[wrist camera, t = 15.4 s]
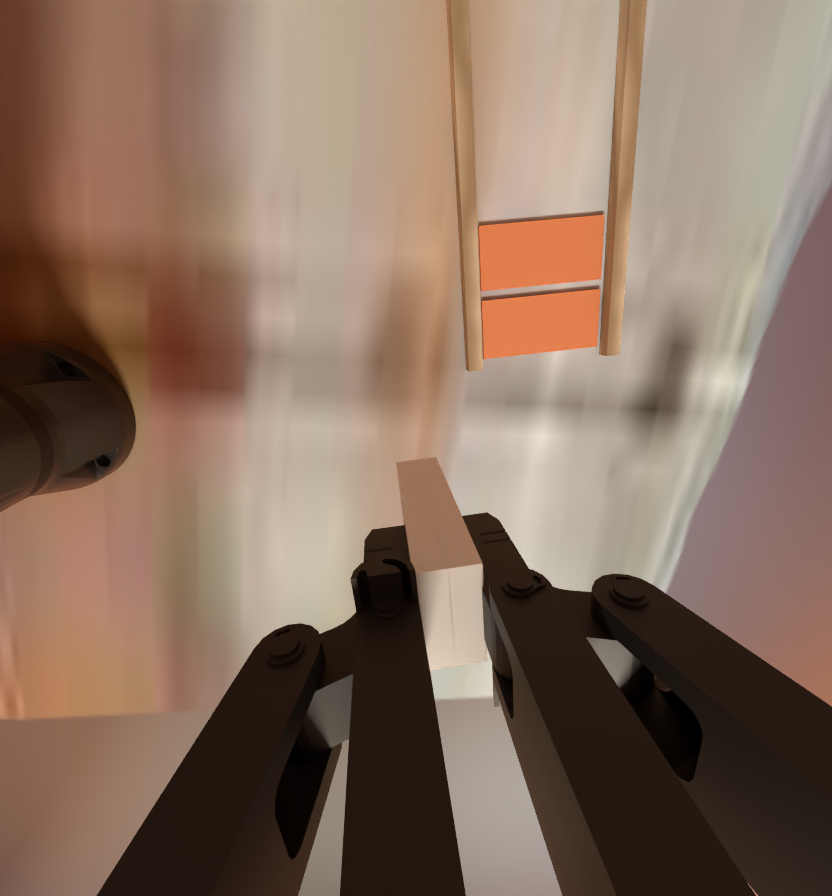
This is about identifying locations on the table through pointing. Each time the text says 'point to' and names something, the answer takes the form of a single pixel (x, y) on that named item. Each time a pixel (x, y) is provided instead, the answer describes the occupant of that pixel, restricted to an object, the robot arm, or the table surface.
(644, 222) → the table surface
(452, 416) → the table surface
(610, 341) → the track rails
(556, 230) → the trap pads
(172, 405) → the table surface
